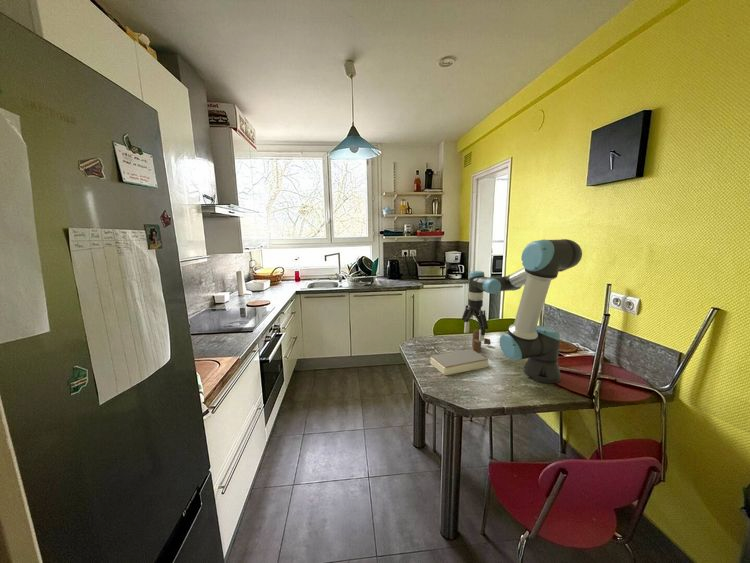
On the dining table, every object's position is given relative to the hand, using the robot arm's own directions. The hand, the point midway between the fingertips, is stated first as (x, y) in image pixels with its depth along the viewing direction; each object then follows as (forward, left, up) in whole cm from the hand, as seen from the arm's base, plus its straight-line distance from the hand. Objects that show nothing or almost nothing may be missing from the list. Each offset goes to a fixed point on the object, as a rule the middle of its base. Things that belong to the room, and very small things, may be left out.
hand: (473, 336), depth 165 cm
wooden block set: (-1, -3, -8) cm, 9 cm away
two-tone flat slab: (-13, +19, -8) cm, 24 cm away
